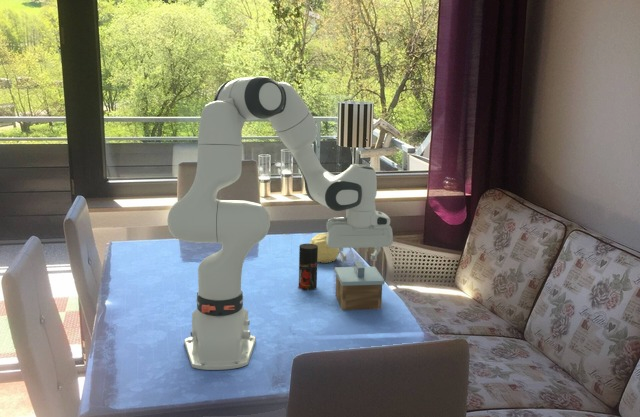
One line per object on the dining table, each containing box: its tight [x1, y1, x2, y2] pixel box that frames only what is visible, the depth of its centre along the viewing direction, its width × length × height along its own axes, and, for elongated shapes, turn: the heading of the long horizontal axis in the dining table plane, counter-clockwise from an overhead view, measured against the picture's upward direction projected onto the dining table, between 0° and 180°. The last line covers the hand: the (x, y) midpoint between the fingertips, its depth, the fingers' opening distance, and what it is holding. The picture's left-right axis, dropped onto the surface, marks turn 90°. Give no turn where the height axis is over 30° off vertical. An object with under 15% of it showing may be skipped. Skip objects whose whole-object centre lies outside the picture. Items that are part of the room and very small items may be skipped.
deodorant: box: [298, 243, 318, 291], centre depth 209 cm, size 6×6×15 cm
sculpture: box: [309, 232, 340, 264], centre depth 239 cm, size 12×12×11 cm
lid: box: [334, 261, 385, 286], centre depth 196 cm, size 13×13×5 cm
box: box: [335, 274, 383, 311], centre depth 198 cm, size 12×12×9 cm
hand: (358, 260), depth 196 cm, fingers open, 8 cm apart
